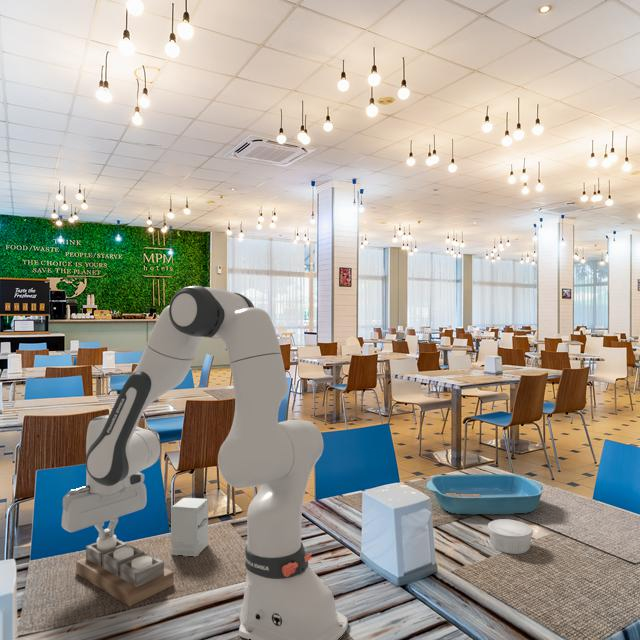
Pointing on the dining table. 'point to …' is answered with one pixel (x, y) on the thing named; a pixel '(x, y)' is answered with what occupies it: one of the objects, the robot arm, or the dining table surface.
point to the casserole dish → (486, 493)
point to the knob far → (106, 543)
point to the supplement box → (189, 526)
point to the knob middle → (123, 553)
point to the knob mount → (123, 574)
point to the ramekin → (510, 536)
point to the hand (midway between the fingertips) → (106, 537)
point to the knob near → (141, 562)
